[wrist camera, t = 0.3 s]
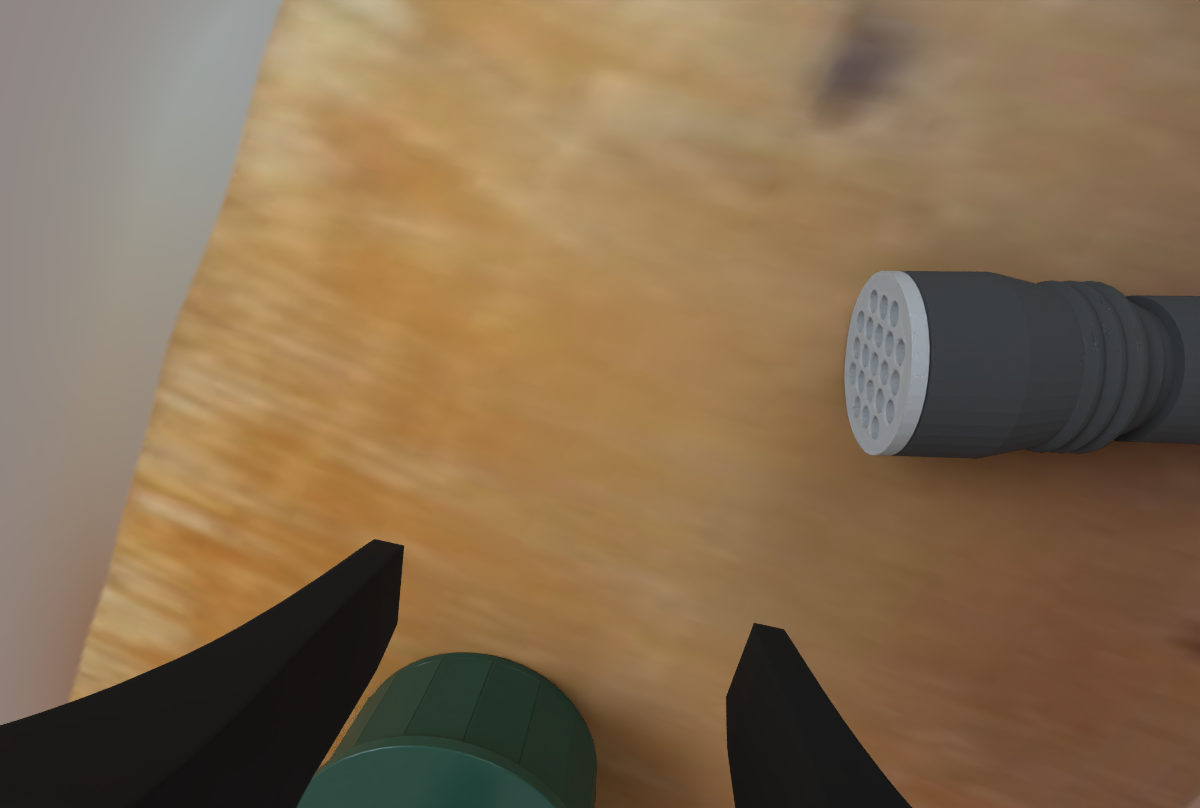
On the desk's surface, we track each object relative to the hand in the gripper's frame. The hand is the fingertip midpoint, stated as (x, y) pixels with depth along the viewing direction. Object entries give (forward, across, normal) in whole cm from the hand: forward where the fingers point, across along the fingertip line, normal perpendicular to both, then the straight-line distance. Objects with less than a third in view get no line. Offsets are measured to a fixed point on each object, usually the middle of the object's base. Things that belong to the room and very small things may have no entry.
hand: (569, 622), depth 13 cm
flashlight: (+11, -14, -5) cm, 19 cm away
